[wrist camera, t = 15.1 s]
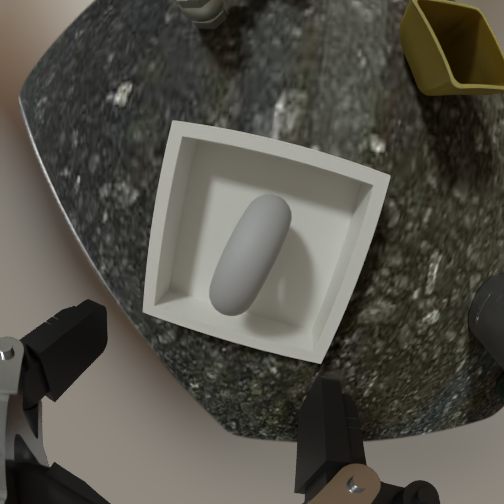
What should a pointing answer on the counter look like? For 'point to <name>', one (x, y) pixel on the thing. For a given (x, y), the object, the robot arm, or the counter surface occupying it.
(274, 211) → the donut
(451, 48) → the flower pot
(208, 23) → the valve
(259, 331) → the tray
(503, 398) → the coffee jar
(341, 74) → the counter surface
